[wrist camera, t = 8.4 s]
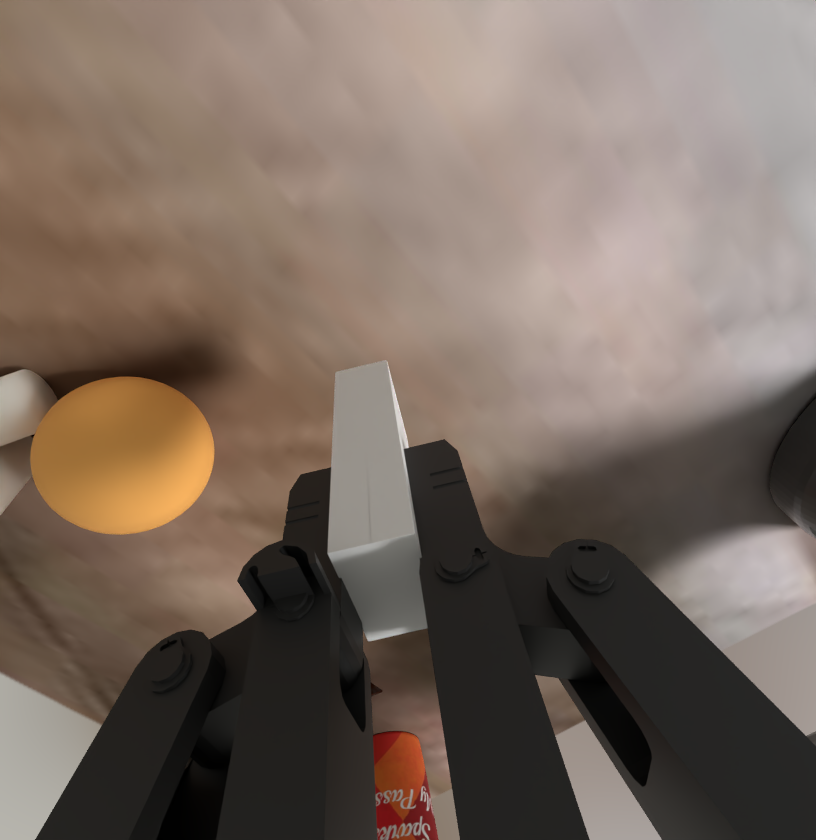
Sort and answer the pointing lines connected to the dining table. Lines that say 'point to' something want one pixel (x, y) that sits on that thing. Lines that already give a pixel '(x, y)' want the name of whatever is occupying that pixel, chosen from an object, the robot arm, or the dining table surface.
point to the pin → (14, 469)
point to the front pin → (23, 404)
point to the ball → (122, 455)
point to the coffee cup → (402, 789)
